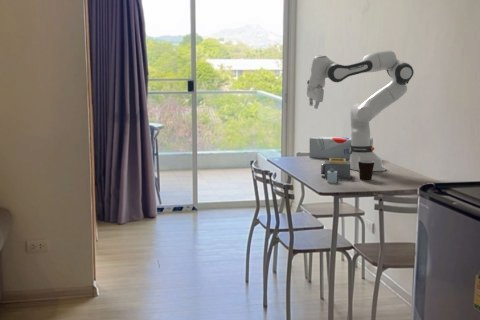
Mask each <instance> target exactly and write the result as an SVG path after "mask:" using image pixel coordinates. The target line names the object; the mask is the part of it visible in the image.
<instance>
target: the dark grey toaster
mask: <svg viewBox="0 0 480 320" xmlns="http://www.w3.org/2000/svg"><path fill="white" fill-rule="evenodd" d="M328 159H329V160H328ZM328 159H327V160H326V159H325V160H324V163H320V175H323V176H324V178H325V179H327V172H328V171H330V169H334V171H337V179H348V180H349V179H351V169H350V165H351V164H350V161H349V160H347V159H343V158H328Z"/></svg>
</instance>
